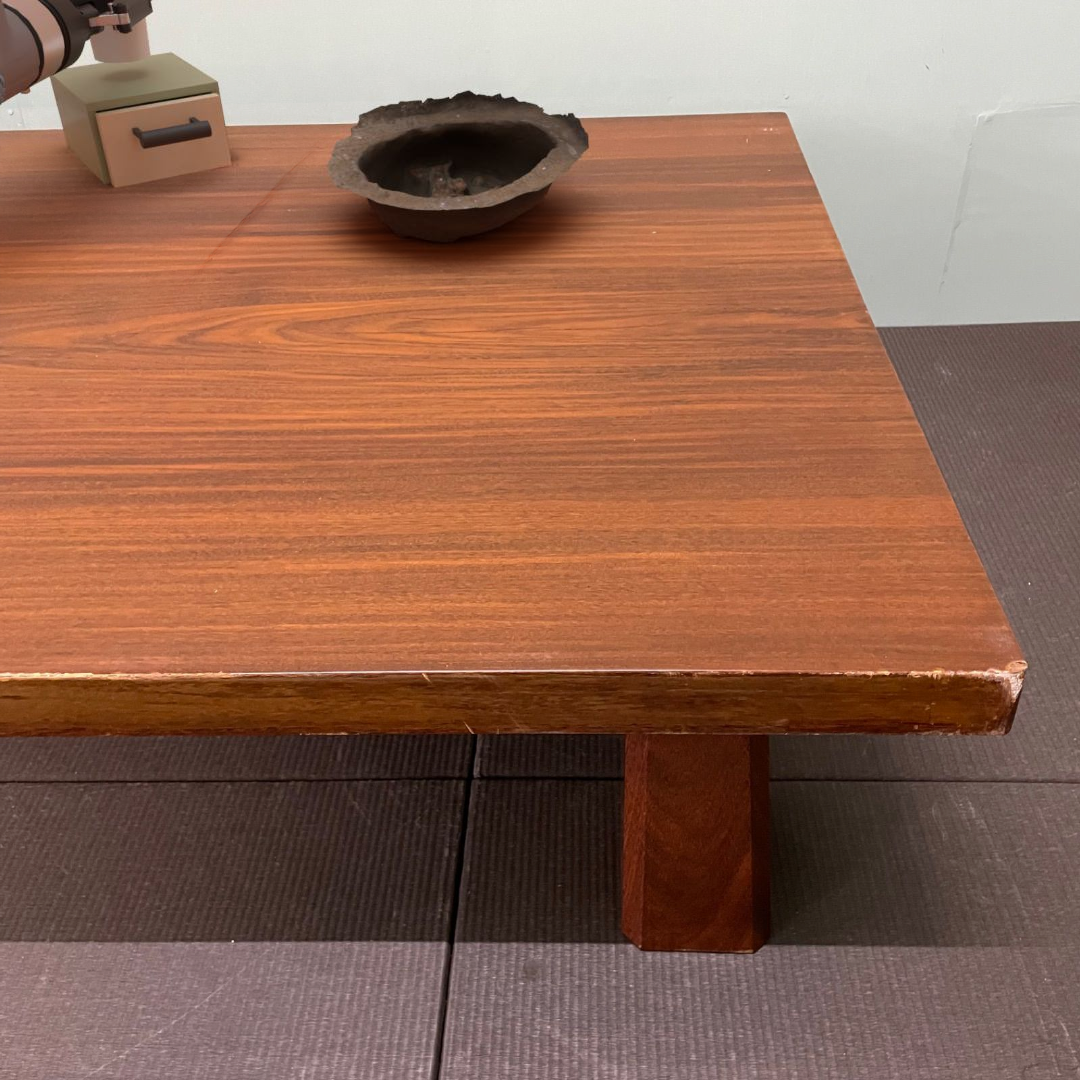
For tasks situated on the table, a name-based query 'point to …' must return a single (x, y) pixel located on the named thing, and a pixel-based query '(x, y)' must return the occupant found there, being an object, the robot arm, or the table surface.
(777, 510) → the table surface
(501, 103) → the stone bowl
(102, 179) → the cabinet
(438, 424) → the table surface
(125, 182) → the drawer
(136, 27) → the drinking glass
